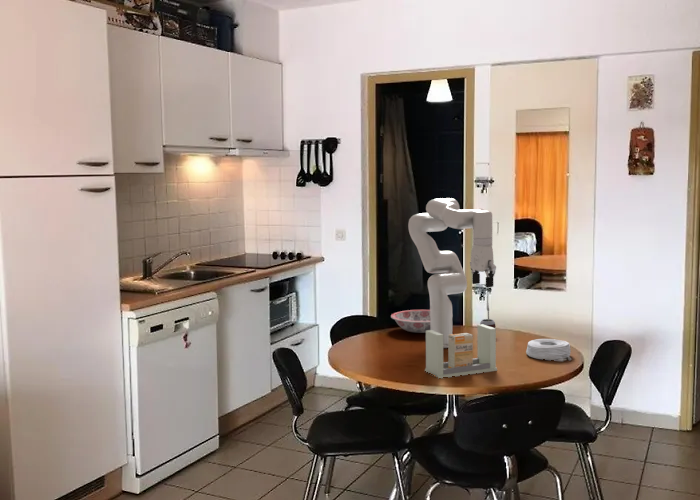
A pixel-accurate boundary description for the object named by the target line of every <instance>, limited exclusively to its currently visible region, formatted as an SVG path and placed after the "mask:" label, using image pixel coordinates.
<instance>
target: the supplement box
mask: <svg viewBox="0 0 700 500" xmlns="http://www.w3.org/2000/svg"><path fill="white" fill-rule="evenodd" d="M473 339H474V335H473V334H472V333H468V332H463V333H462V332H461V333H454V334H453V333H452V334H450V335H448V351H447V352H448V361H447V362H448V368H454V367H461V366H469V365H473V359H474V340H473Z"/></svg>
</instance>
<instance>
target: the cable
mask: <svg viewBox="0 0 700 500" xmlns="http://www.w3.org/2000/svg"><path fill="white" fill-rule="evenodd" d="M571 352H572V351H571V345H570V342H568V341H566V340H561V339H554V338H537V339H532V340H529V341H528V342H527V348H526V351H525V353H526V355H527V356H529V357H531V358H534V359H537V360H543V359H545V360H544V361H551V360H554V361H555V362H564V361H567V360H568V361H571V360H572V357H571Z"/></svg>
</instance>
